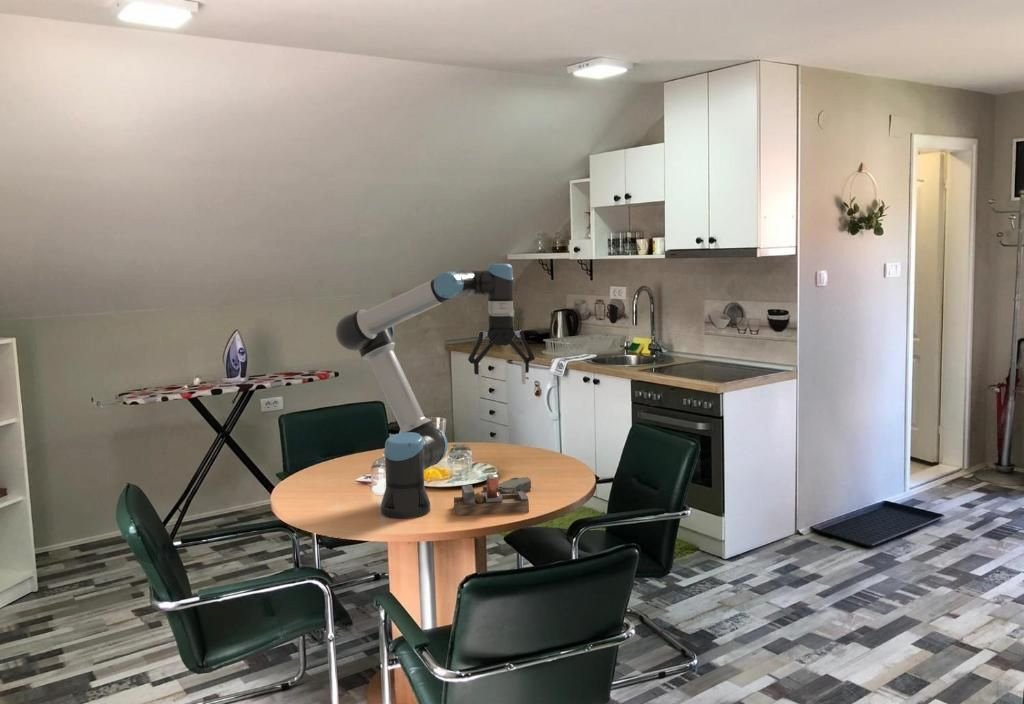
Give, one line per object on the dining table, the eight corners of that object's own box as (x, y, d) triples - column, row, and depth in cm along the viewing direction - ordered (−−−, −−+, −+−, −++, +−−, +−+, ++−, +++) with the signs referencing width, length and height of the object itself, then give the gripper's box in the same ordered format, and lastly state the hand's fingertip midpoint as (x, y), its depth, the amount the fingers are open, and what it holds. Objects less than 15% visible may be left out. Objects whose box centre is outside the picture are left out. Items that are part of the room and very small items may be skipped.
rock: (533, 498, 272) (533, 484, 271) (483, 500, 271) (483, 486, 270) (530, 488, 284) (530, 474, 283) (483, 490, 283) (482, 476, 282)
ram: (486, 505, 255) (485, 478, 254) (483, 499, 262) (483, 472, 261) (502, 504, 256) (502, 477, 255) (499, 498, 263) (498, 472, 262)
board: (457, 516, 253) (456, 493, 252) (453, 507, 262) (453, 485, 261) (528, 512, 256) (528, 489, 255) (523, 502, 266) (523, 481, 265)
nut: (474, 506, 256) (473, 495, 256) (473, 503, 260) (471, 491, 259) (486, 504, 257) (484, 493, 256) (484, 501, 260) (483, 490, 260)
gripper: (461, 316, 249) (462, 387, 251) (543, 314, 253) (544, 384, 255) (458, 314, 256) (459, 383, 258) (538, 313, 260) (539, 381, 262)
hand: (501, 384), depth 257 cm, fingers open, 13 cm apart
